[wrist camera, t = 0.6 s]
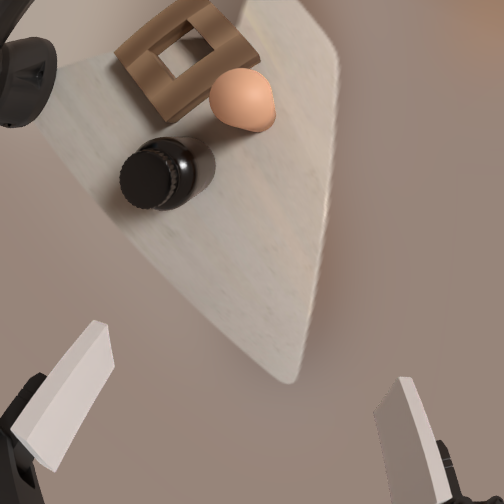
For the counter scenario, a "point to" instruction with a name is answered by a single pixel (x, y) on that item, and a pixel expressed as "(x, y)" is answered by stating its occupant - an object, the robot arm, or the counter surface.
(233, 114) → the dowel
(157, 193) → the supplement bottle
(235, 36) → the socket block
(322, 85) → the counter surface
